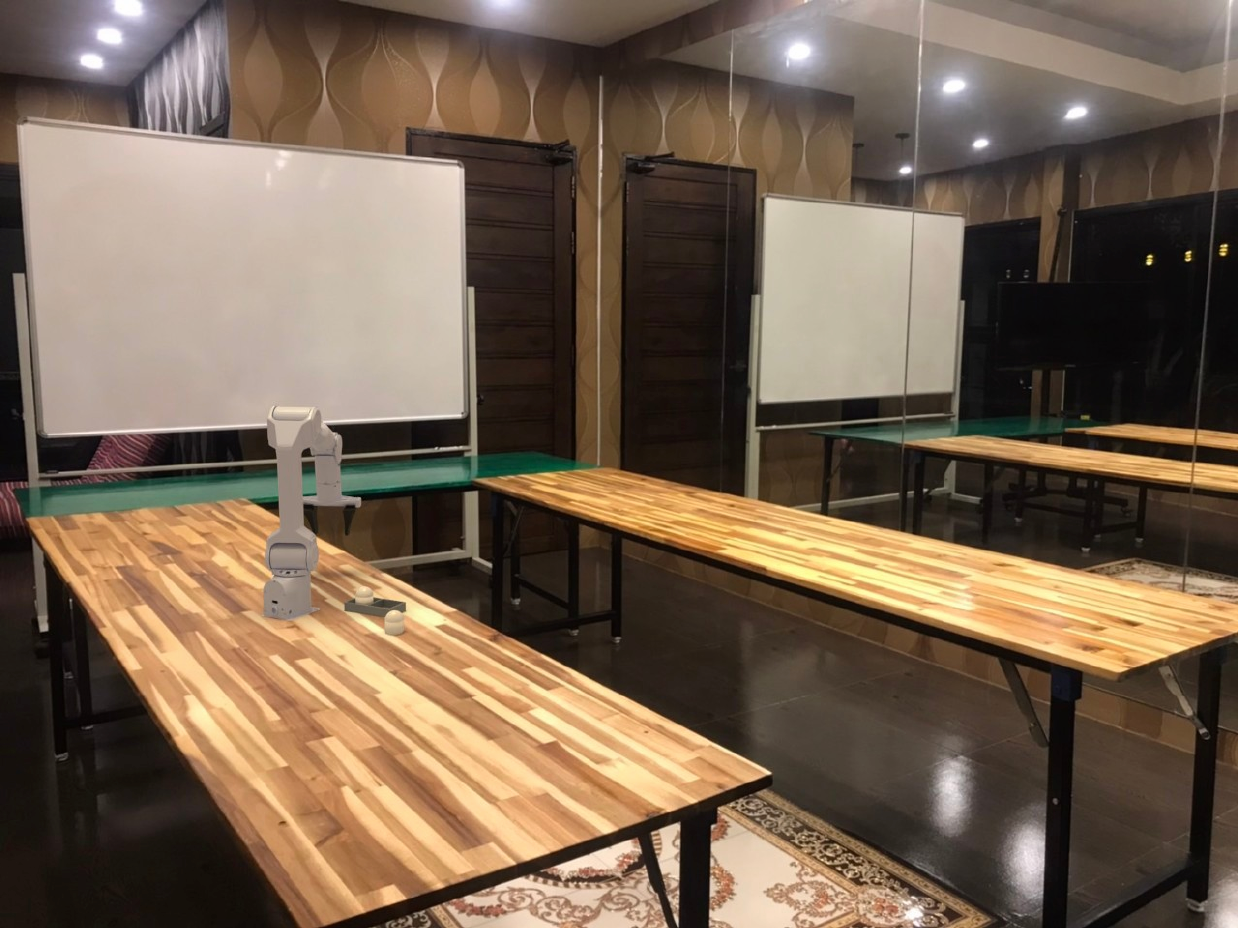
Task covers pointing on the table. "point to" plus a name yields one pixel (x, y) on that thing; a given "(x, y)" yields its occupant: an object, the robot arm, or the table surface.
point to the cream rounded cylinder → (394, 623)
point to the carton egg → (364, 596)
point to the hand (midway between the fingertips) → (331, 533)
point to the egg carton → (375, 607)
